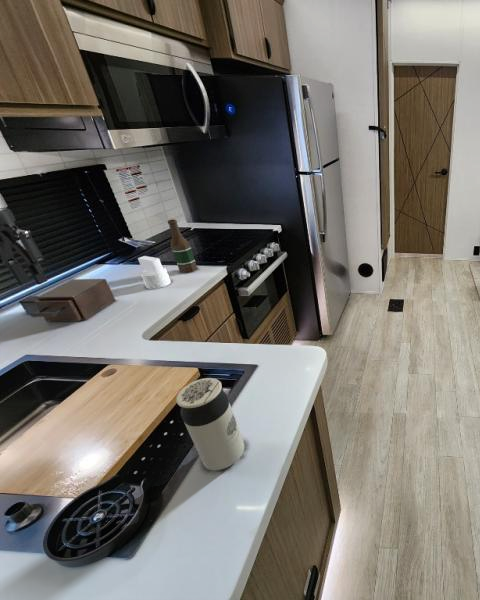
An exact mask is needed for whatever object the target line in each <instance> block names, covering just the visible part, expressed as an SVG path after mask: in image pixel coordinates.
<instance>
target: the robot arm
mask: <svg viewBox="0 0 480 600" xmlns="http://www.w3.org/2000/svg"><path fill="white" fill-rule="evenodd" d="M16 220H17V219H16V216H14V214H13V212H12V210H11V209H9V208H8V204H7V202H6V200H5V199H4V197H3V195H2V194H1V192H0V264H3V265H4V266H6V267H7V269H8V270H9V272H10V273H11V275H13V276H14V278H15V280H16V281H17V283H18V285H20V286H21V285H25V284H27V283H30V282H31V280H30V278H29V277H28V275H27V273H26V272H25V270H24V268H23V267H22V265H21V263H20V262H19V261H18V259H15V257H14V253H13V250H12V247H13V248H14V250H15V251H16V252H17V253H18V254H19V255H20V256H21V258H22V259H23V260H24V261H25V262H26V263H27V264H26V268H27V270H28V271H29V272H30V274H31V276H32V278H33V279H34V281H35V283H36V284H37V285H42V284H44V283H46V282H48V279H47V277H46V275H45V273H44V269H43V268H42V266H41V263H40V262H43V261H44V260H45V258H44V256H43V254H42V252H41V250H40V249H39V247H38V245H37V244H36V242H35V240H34V238H33V236H32V231H31V230H30V229H26V230H23V229H20V228H19V227H18V226H17V225H16V224H15V222H16ZM11 246H12V247H11Z"/></svg>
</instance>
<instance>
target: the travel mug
mask: <svg viewBox="0 0 480 600" xmlns="http://www.w3.org/2000/svg"><path fill="white" fill-rule="evenodd" d="M222 388H223V387H222V382H221V381H220V380H218V379H217V378H214V377H213V378H212V377H205V378H200V379H197V380H194V381H192V382H190V383H187V384H186V385H185V386H184V387H183V388H181V390H180V391H179V392H178V394H177V395H176V399H175V400H176V404H177V405H178V406H179V407H180V410H179V411H180V412H179V413H180V417H181V419H182V421H183V424H184V425H185V427H186V430H187V432H188V434H189V436H190V438H191V441H192V443H193V445H194V447H195V449H196V451H197V453H198V455H199V457H200V460H201V462H202V464H203V467H205V468H206V469H207V470H210V471H220V470H221V471H222V470H224V469H227V468H229V467H231V466H232V465H234V464H235V463H237V461H238V460H239V459H240V458H241V457H242V455H243V453H244V451H245V442H244V440H243V437H242V434H241V432H240V431H241V430H240V429H239V426H238V423H237V420H236V417H235V415H234V412H233V409H232V406H231V403H230V400H229V397H228V395H227V393H226V391H224V390H223V389H222Z"/></svg>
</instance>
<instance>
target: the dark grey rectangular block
mask: <svg viewBox="0 0 480 600" xmlns="http://www.w3.org/2000/svg"><path fill="white" fill-rule="evenodd" d="M38 296H39V295H30V296H29V295H28V296H27V297H25V298H23V299H21V300H19V301H18V304H20V305H21V307H22V308H23V310H24V312H25V313H26V315H31V313H33V312H38V311H40V310H39V309H38V307H37V305H36V304H35V301H37V298H36V297H38Z"/></svg>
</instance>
